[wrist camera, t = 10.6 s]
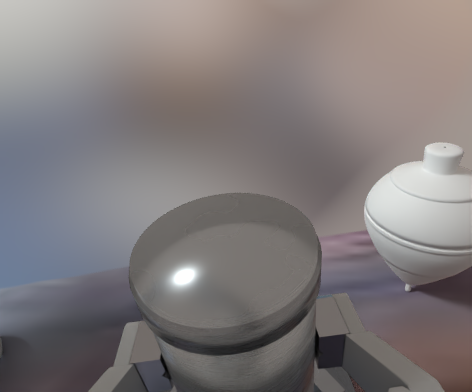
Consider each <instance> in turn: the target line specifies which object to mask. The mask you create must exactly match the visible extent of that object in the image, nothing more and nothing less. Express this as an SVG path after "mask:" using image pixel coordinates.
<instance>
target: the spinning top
mask: <svg viewBox="0 0 472 392" xmlns="http://www.w3.org/2000/svg"><path fill="white" fill-rule="evenodd" d="M463 154H464V150H463V149H462V148H461V147H460V146H457V145H454V144H451V143H432V144H429V145H427V146H426V148H425V152H424V161H415V162H410V163H405V164H402V165H399V166H397V167H395V168H394V169H393V170H392V171H391V172H389V173H388V174H386V175H385V176H383V177H382V178H381V179H380V180H379V181H378V182H377V183H376V184H375V185H374V186H373V188H372V189H371V190H370V192H369V194H368V196H367V199H366V202H365V208H364V216H365V223H366V227H367V230H368V233H369V235H370V237H371V239H372V241H373V243H374V245H375V247H376V249H377V251H378V252H379V254H380V255H381V256H382V258H383V259H384V261H385V262H386V263H387V264H388V266H389V267H390V268H391V269H392V271H393V272H394V273H395V274H396V275H397V276H398V277H399V278H400V279H401V280H402V281H403V282H405V283H406V287H405V290H406V291H407V292H409V291H410V290H411V286H413V285H422V284H427V283H431V282H435V281H438V280H441V279H445V278H447V277H451V276H454V275H456V274H458V273H460V272H462V271H464V270H466V269H467V268H469V267H471V266H472V171H471V170H469V169H467V168H464V167H462V166H459V163H460V161H461V159H462V157H463Z"/></svg>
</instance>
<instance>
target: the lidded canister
mask: <svg viewBox="0 0 472 392" xmlns="http://www.w3.org/2000/svg"><path fill="white" fill-rule="evenodd" d="M321 257H322V251H321V245H320V242H319V239H318V236H317V234H316V232H315V229H314V227H313V225H312V224H311V222H310V221H309V219H308V218H307V217H306V216H305V215H304V214H303V213H302V212H300V211H299V210H298V209H297V208H295V207H294V206H292V205H290V204H288V203H286V202H284V201H282V200H279V199H276V198H273V197H269V196H265V195H260V194H251V193H227V194H219V195H214V196H208V197H204V198H200V199H197V200H194V201H191V202H188V203H186V204H183V205H181V206H179V207H177V208H175V209H173V210H171V211H169V212H167V213H166V214H164V215H163V216H161V217H160V218H158V219H157V220H156V221H155V222H153V223H152V224H151V225H150V226H149V227H148V228H147V229H146V230H145V231H144V233H143V234H142V235H141V236H140V238H139V239H138V241H137V242H136V244H135V246H134V248H133V251H132V254H131V258H130V267H129V283H130V288H131V291H132V294H133V296H134V299H135V301H136V303H137V306H138V308H139V311H140V313H141V315H142V318H143V319H144V321H145V323H146V324H147V326H148V327H149V328H150V329H151V331H152V332H153V334H154V336H155V338H156V341H157V343H158V346H159V348H160V351H161V353H162V356H163V358H164V361H165V363H166V366H167V368H168V371H169V373H170V376H171V378H172V380H173V383H174V385H175V388H176V390H177V392H314V361H315V327H316V298H317V296H318V293H319V289H320V284H321Z"/></svg>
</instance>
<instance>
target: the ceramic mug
mask: <svg viewBox="0 0 472 392" xmlns="http://www.w3.org/2000/svg"><path fill="white" fill-rule="evenodd" d="M2 353H3V352H2V342H1V337H0V358H1V356H2Z"/></svg>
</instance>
